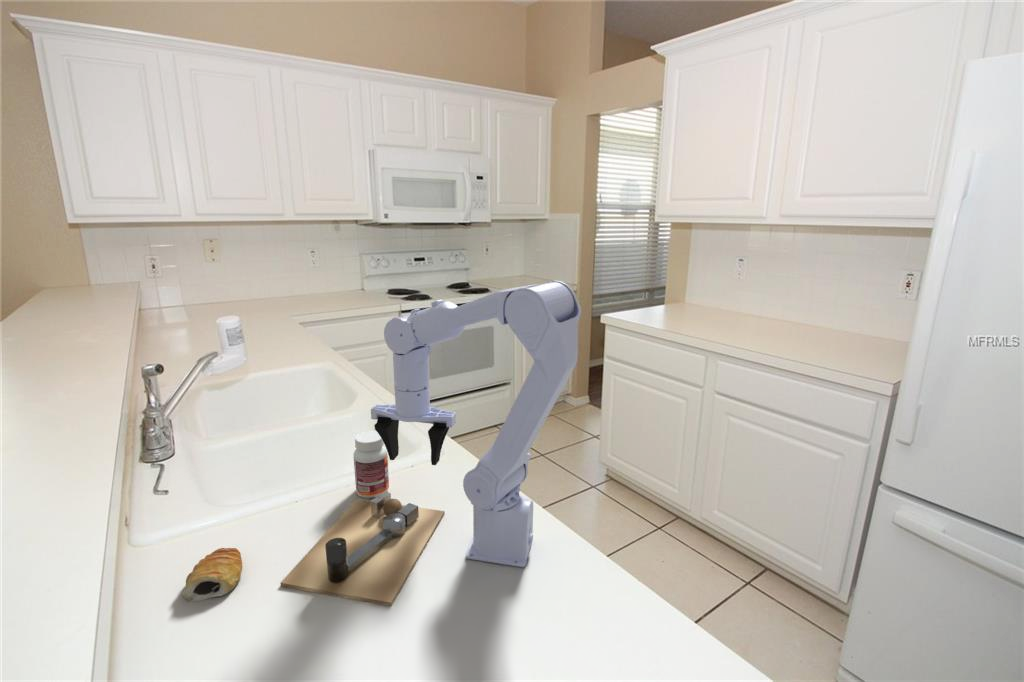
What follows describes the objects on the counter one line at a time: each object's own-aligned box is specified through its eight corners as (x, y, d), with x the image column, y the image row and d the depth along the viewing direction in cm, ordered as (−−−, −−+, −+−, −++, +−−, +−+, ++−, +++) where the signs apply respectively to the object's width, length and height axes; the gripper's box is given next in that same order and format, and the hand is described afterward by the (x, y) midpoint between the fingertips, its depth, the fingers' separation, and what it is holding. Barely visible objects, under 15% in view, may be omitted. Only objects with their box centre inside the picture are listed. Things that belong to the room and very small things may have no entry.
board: (444, 514, 89) (444, 511, 89) (391, 606, 68) (391, 602, 68) (356, 501, 93) (356, 499, 92) (280, 586, 72) (280, 582, 72)
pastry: (204, 560, 77) (201, 539, 76) (252, 554, 79) (249, 533, 78) (181, 606, 68) (177, 582, 67) (235, 598, 70) (232, 574, 69)
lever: (406, 512, 88) (404, 485, 87) (422, 518, 86) (421, 491, 85) (322, 577, 72) (319, 545, 71) (339, 586, 71) (337, 553, 69)
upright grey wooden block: (385, 505, 90) (384, 491, 90) (391, 508, 90) (390, 493, 89) (371, 516, 87) (370, 501, 87) (377, 518, 87) (376, 503, 86)
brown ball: (405, 512, 89) (404, 496, 88) (397, 522, 86) (397, 506, 85) (388, 509, 89) (387, 493, 88) (380, 520, 86) (379, 503, 85)
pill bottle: (393, 493, 96) (391, 438, 93) (361, 502, 92) (358, 446, 89) (382, 478, 101) (380, 426, 98) (351, 487, 97) (348, 434, 94)
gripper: (460, 381, 86) (461, 453, 89) (382, 375, 89) (386, 445, 92) (447, 396, 79) (448, 473, 83) (363, 388, 82) (367, 463, 85)
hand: (414, 459), depth 87 cm, fingers open, 7 cm apart
